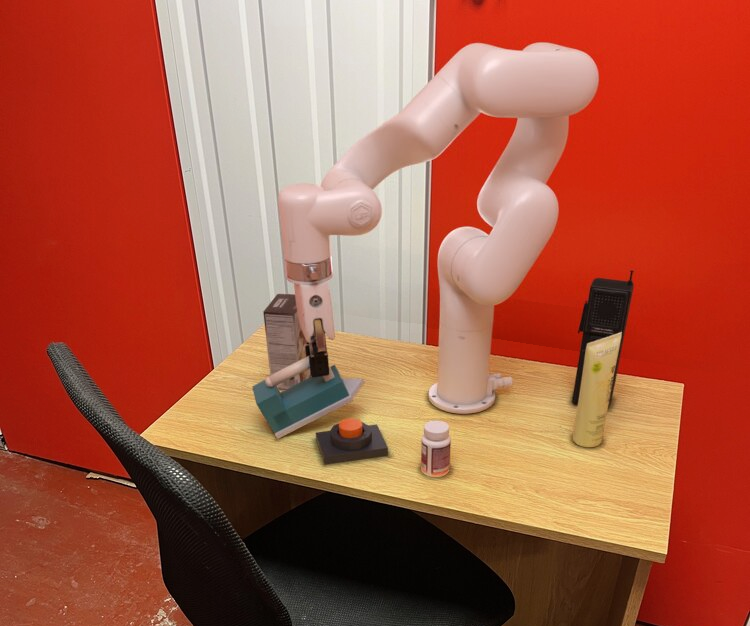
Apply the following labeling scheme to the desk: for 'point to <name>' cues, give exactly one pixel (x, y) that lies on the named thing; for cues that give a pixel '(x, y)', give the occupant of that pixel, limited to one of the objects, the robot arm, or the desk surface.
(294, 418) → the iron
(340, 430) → the power button
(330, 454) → the switch box
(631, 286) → the portable radio
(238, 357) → the desk surface
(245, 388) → the desk surface
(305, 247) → the robot arm
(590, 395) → the tube
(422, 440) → the pill bottle
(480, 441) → the desk surface
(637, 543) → the desk surface
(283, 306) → the coffee box
